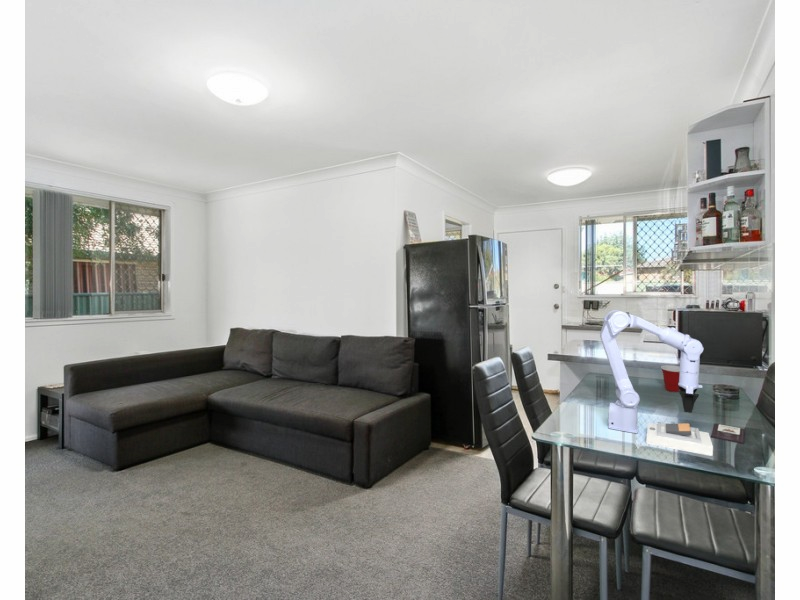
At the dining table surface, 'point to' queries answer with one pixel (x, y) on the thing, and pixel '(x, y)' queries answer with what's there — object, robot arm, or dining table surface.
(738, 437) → the chocolate bar
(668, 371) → the plastic cup
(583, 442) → the dining table surface
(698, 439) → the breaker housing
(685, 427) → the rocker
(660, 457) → the dining table surface
